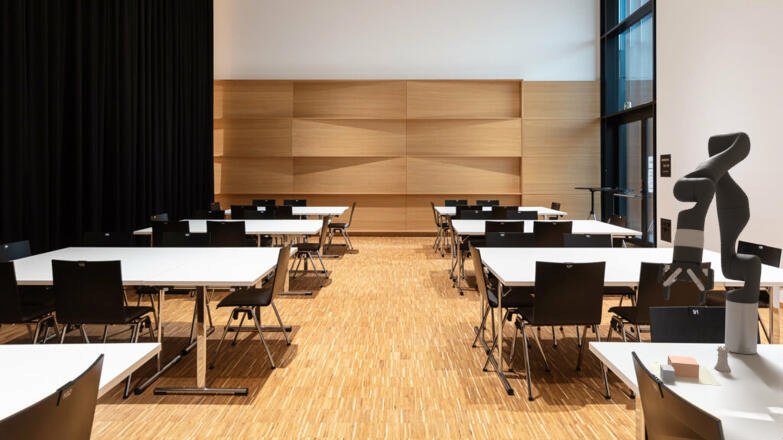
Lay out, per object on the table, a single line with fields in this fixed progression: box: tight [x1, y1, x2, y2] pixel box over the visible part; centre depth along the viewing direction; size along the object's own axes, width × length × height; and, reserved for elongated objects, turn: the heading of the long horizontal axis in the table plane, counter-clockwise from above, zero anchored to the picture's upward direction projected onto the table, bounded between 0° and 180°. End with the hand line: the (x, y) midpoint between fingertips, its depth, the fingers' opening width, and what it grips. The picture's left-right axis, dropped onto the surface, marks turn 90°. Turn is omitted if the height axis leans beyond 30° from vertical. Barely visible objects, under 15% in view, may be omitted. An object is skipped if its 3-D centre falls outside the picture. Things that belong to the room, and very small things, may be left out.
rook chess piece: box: [713, 345, 732, 373], centre depth 160 cm, size 4×4×8 cm
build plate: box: [648, 362, 722, 387], centre depth 158 cm, size 16×16×1 cm
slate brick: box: [660, 364, 675, 382], centre depth 154 cm, size 5×3×3 cm, turn 162°
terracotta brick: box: [667, 354, 700, 378], centre depth 158 cm, size 7×7×4 cm
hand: (682, 302), depth 153 cm, fingers open, 8 cm apart
